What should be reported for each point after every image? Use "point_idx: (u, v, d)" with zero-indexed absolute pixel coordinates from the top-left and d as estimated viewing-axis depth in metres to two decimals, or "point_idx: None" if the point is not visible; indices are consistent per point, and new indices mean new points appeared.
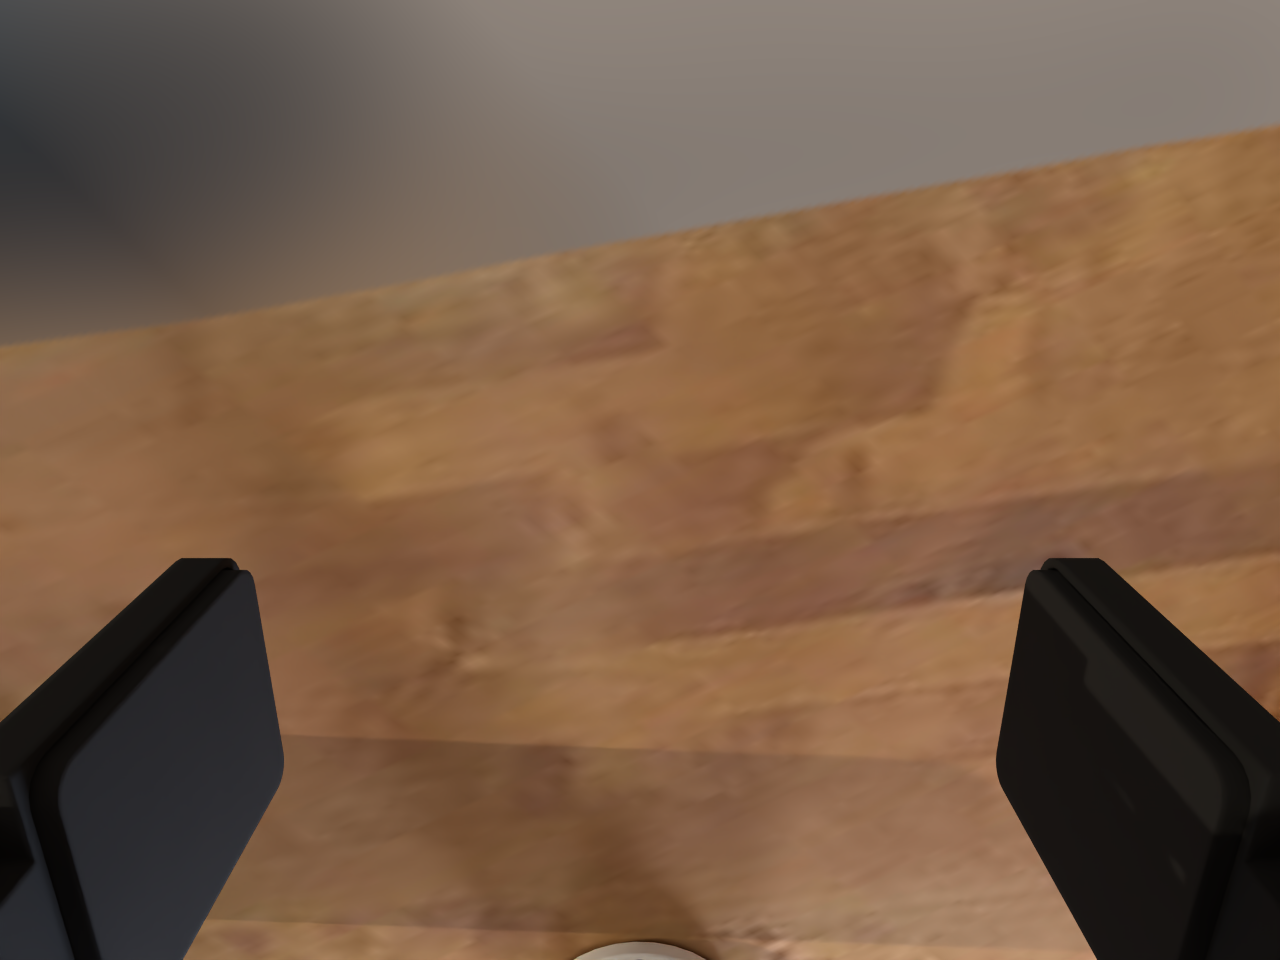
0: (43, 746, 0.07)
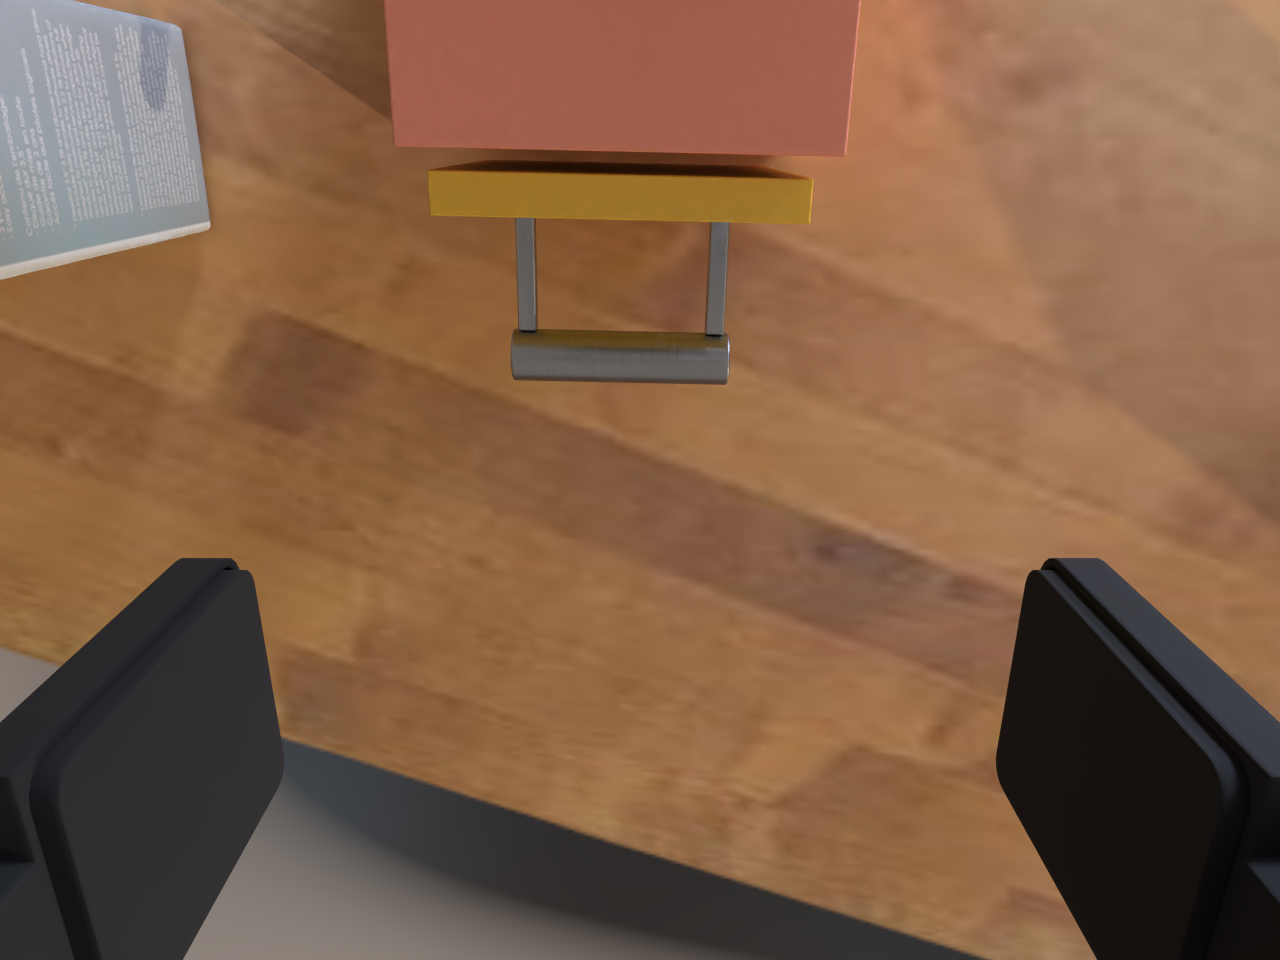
0: (43, 746, 0.07)
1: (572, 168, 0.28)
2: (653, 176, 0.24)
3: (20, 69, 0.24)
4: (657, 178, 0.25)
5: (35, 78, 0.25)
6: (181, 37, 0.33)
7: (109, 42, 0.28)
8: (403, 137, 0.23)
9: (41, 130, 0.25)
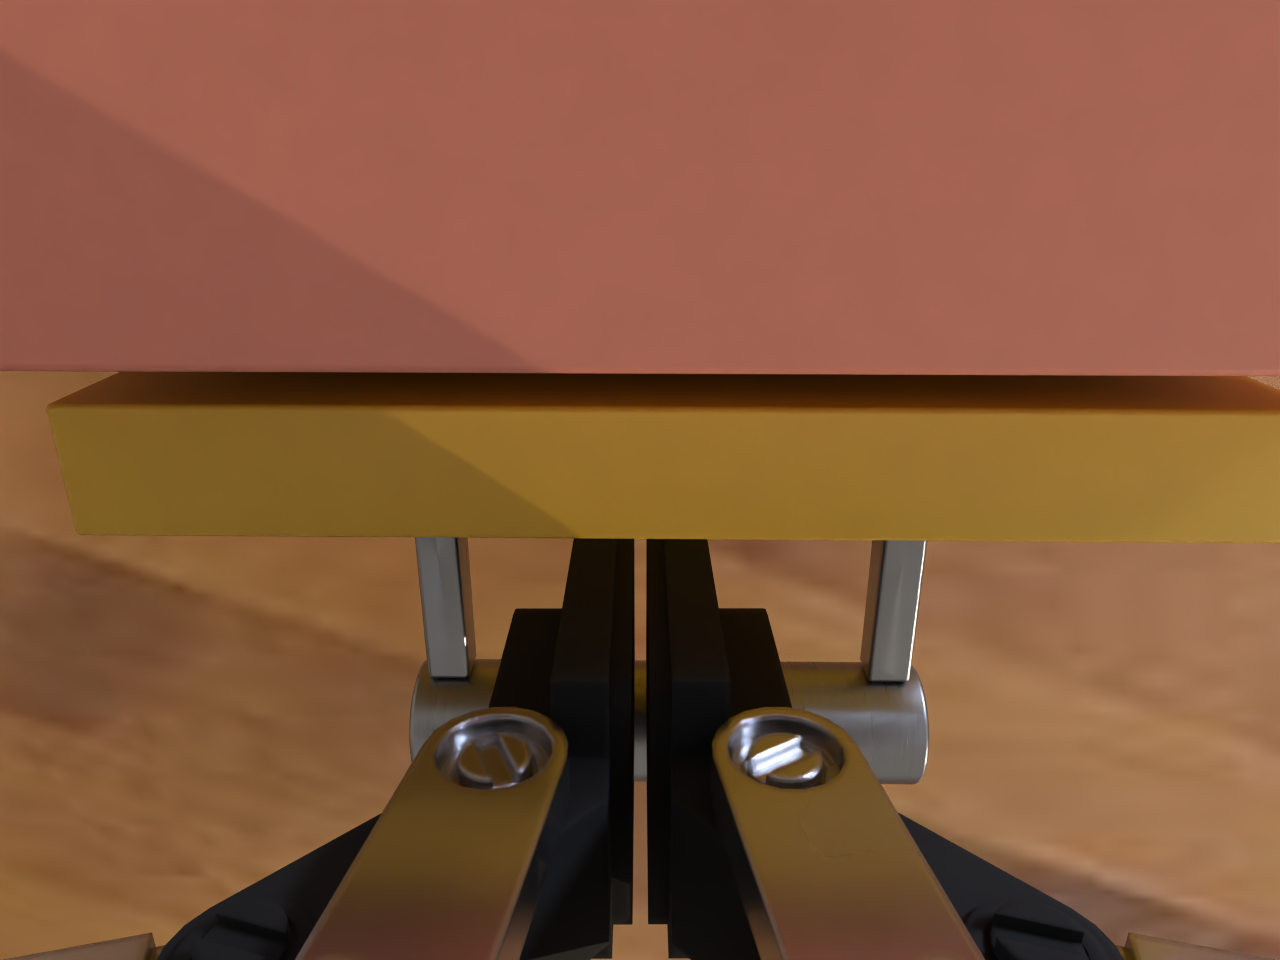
0: (607, 661, 0.08)
1: None
2: (792, 413, 0.07)
3: None
4: (806, 417, 0.07)
5: None
6: None
7: None
8: None
9: None
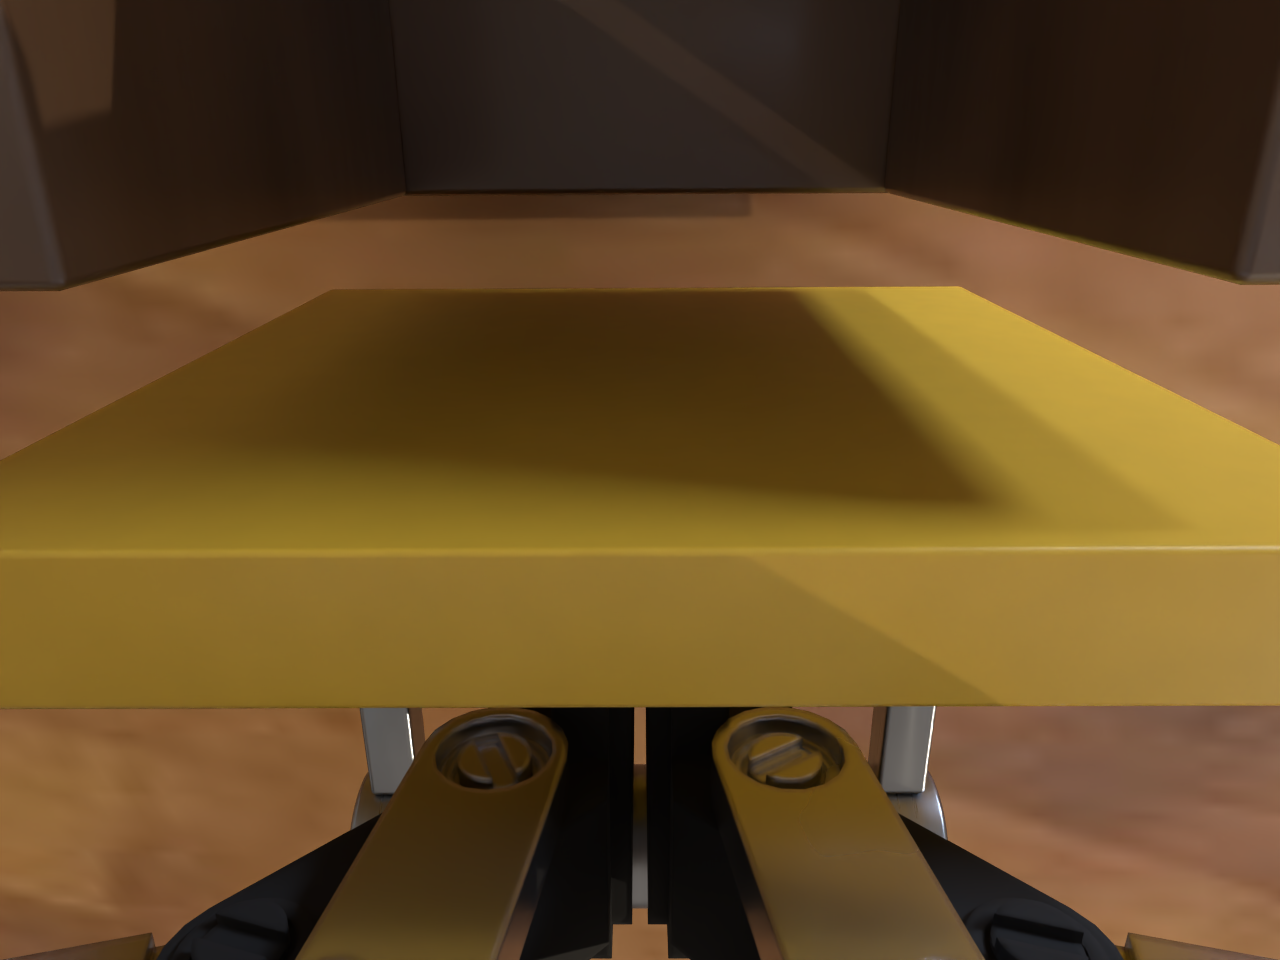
0: None
1: (487, 402, 0.09)
2: (792, 557, 0.06)
3: None
4: (809, 562, 0.06)
5: None
6: None
7: None
8: None
9: None
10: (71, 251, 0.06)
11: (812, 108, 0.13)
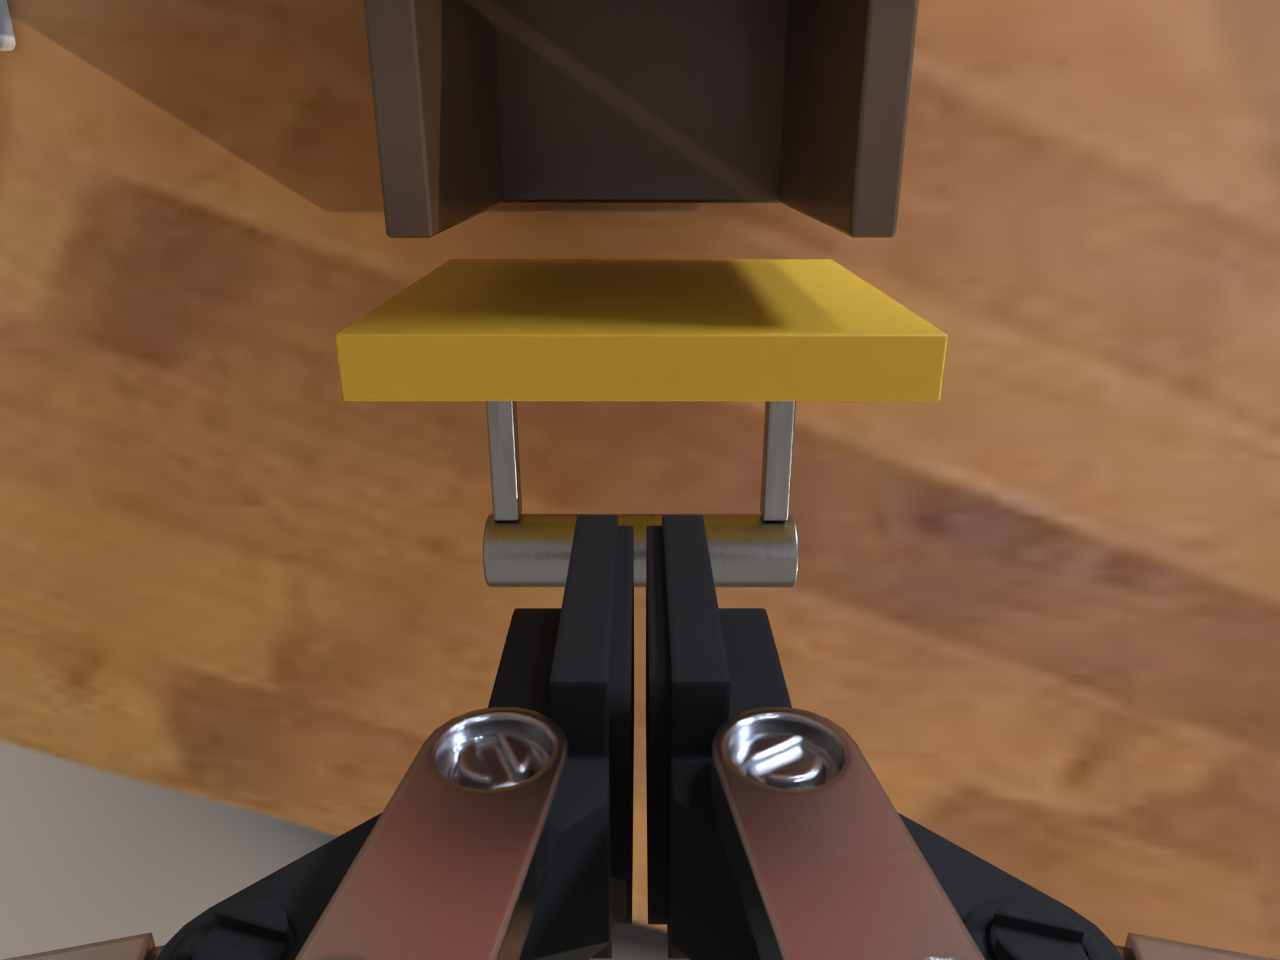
0: (606, 660, 0.08)
1: (565, 301, 0.19)
2: (693, 337, 0.15)
3: None
4: (699, 339, 0.15)
5: None
6: None
7: None
8: None
9: None
10: (433, 223, 0.15)
11: (736, 154, 0.23)
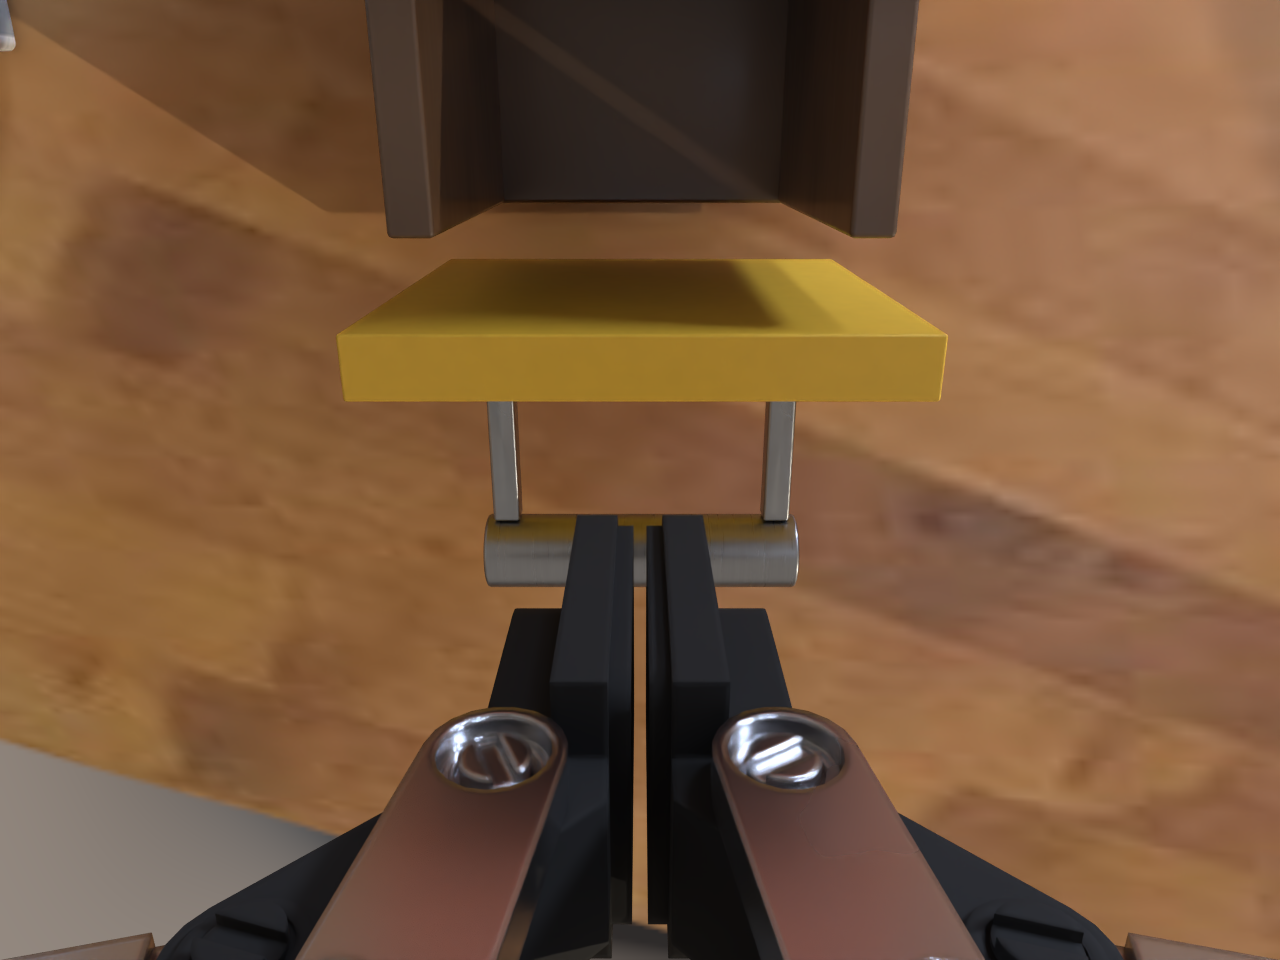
0: (606, 660, 0.08)
1: (566, 301, 0.19)
2: (694, 337, 0.15)
3: None
4: (700, 339, 0.15)
5: None
6: None
7: None
8: None
9: None
10: (434, 224, 0.15)
11: (736, 154, 0.23)
